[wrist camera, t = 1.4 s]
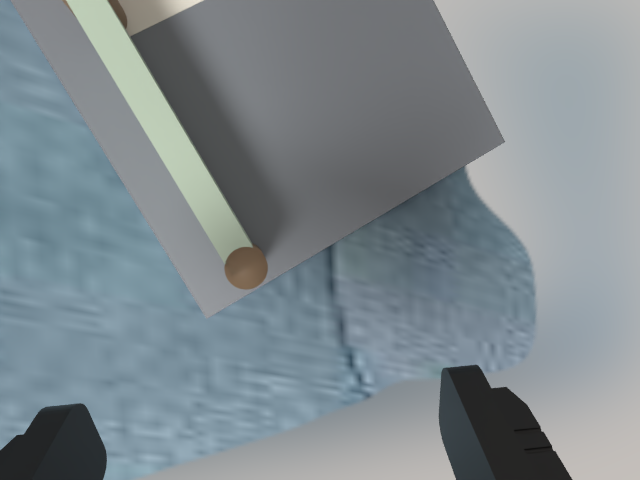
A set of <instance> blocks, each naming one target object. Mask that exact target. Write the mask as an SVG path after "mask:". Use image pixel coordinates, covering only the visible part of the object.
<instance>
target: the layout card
mask: <svg viewBox="0 0 640 480" xmlns="http://www.w3.org/2000/svg"><path fill="white" fill-rule="evenodd" d="M118 1H119V3H120V5H121V6H122V8H123V10H124V12H125V14H126V16H127V28H126V30H127V32H128V34H129V36H130V37H131V39H132V41H133V42H134V44H135V46H136V47H137V49H138V51H139V52H140V54H141V56H142V58H143V59H144V61H145V63H146V64H147V66H148V68H149V69H150V71H151V73H152V74H153V76H154V78H155V80H156V81H157V83H158V85H159V86H160V88H161V90H162V91H163V93H164V95H165V96H166V98H167V100H168V102H169V103H170V105H171V107H172V108H173V110H174V112H175V113H176V115H177V117H178V118H179V120H180V122H181V124H182V125H183V127H184V129H185V130H186V132H187V134H188V135H189V137H190V139H191V140H192V142H193V144H194V146H195V147H196V149H197V151H198V152H199V154H200V156H201V157H202V159H203V161H204V163H205V164H206V166H207V168H208V169H209V171H210V173H211V174H212V176H213V178H214V179H215V181H216V183H217V185H218V186H219V188H220V190H221V191H222V193H223V195H224V196H225V198H226V200H227V201H228V203H229V205H230V207H231V208H232V210H233V212H234V213H235V215H236V217H237V218H238V220H239V222H240V223H241V225H242V227H243V229H244V230H245V232H246V234H247V235H248V237H249V239H250V240H251V242H252V243H253V244H255V245H257V246H258V247H259V248H260V249H261V251H262V253H263V255H264V256H265V258H266V261H267V264H268V272H267V275H266V278H265V279H264V281H263V282H262V283H261V284H260V285H259V286H257V287H255V288H253V289H247V290H245V289H239V288H237V287H235V286H233V285H232V284H231V283H230V282H229V281H228V279H227V277H226V275H225V270H224V267H225V264H224V262H223V260H222V259H221V257H220V255H219V254H218V252H217V250H216V249H215V247H214V245H213V244H212V242H211V240H210V239H209V237H208V235H207V234H206V232H205V230H204V229H203V227H202V226H201V224H200V222H199V221H198V219H197V217H196V216H195V214H194V212H193V211H192V209H191V207H190V206H189V204H188V202H187V201H186V199H185V197H184V196H183V194H182V192H181V191H180V189H179V187H178V186H177V184H176V182H175V181H174V179H173V177H172V176H171V174H170V172H169V171H168V169H167V167H166V166H165V164H164V162H163V161H162V159H161V157H160V156H159V154H158V152H157V151H156V149H155V147H154V146H153V144H152V142H151V141H150V139H149V137H148V136H147V134H146V132H145V131H144V129H143V127H142V126H141V124H140V122H139V121H138V119H137V117H136V116H135V114H134V112H133V111H132V109H131V107H130V106H129V104H128V102H127V101H126V99H125V98H124V96H123V94H122V93H121V91H120V89H119V88H118V86H117V84H116V83H115V81H114V79H113V78H112V76H111V74H110V73H109V71H108V69H107V68H106V66H105V64H104V63H103V61H102V59H101V58H100V56H99V54H98V53H97V51H96V49H95V48H94V46H93V44H92V43H91V41H90V39H89V38H88V36H87V34H86V33H85V31H84V29H83V28H82V26H81V24H80V23H79V21H78V19H77V18H76V17H75V16H74V15H73V13H72V12H71V11H70V10H69V8H68V7H67V6H66V5H65V4H64V2H63V1H62V0H11V2H12V3H13V5H14V7H15V8H16V10H17V12H18V13H19V15H20V16H21V18H22V20H23V21H24V23H25V25H26V26H27V28H28V29H29V31H30V33H31V34H32V36H33V38H34V39H35V41H36V42H37V44H38V46H39V47H40V49H41V50H42V52H43V54H44V55H45V57H46V59H47V60H48V62H49V63H50V65H51V67H52V68H53V70H54V72H55V73H56V75H57V76H58V78H59V80H60V81H61V83H62V85H63V86H64V88H65V89H66V91H67V93H68V94H69V96H70V98H71V99H72V101H73V102H74V104H75V106H76V107H77V109H78V111H79V112H80V114H81V115H82V117H83V119H84V120H85V122H86V124H87V125H88V127H89V128H90V130H91V132H92V133H93V135H94V137H95V138H96V140H97V141H98V143H99V145H100V146H101V148H102V150H103V151H104V153H105V154H106V156H107V158H108V159H109V161H110V163H111V164H112V166H113V167H114V169H115V171H116V172H117V174H118V176H119V177H120V179H121V180H122V182H123V184H124V185H125V187H126V188H127V190H128V192H129V193H130V195H131V197H132V198H133V200H134V201H135V203H136V205H137V206H138V208H139V210H140V211H141V213H142V214H143V216H144V218H145V219H146V221H147V223H148V224H149V226H150V227H151V229H152V231H153V232H154V234H155V236H156V237H157V239H158V240H159V242H160V244H161V245H162V247H163V249H164V250H165V252H166V253H167V255H168V257H169V258H170V260H171V262H172V263H173V265H174V266H175V268H176V270H177V271H178V273H179V275H180V276H181V278H182V279H183V281H184V283H185V284H186V286H187V288H188V289H189V291H190V292H191V294H192V296H193V297H194V299H195V301H196V302H197V304H198V305H199V307H200V309H201V310H202V312H203V314H204V315H205V317H206V318H209V317H211V316H212V315H214V314H216V313H217V312H219V311H221V310H222V309H224V308H226V307H227V306H229V305H231V304H233V303H234V302H236V301H238V300H239V299H241V298H243V297H244V296H246V295H248V294H249V293H251V292H253V291H254V290H256V289H258V288H259V287H261V286H263V285H265V284H266V283H268V282H270V281H271V280H273V279H275V278H276V277H278V276H280V275H281V274H283V273H285V272H286V271H288V270H290V269H292V268H293V267H295V266H297V265H298V264H300V263H302V262H303V261H305V260H307V259H308V258H310V257H312V256H313V255H315V254H317V253H319V252H320V251H322V250H324V249H325V248H327V247H329V246H330V245H332V244H334V243H335V242H337V241H339V240H340V239H342V238H344V237H346V236H347V235H349V234H351V233H352V232H354V231H356V230H357V229H359V228H361V227H362V226H364V225H366V224H367V223H369V222H371V221H372V220H374V219H376V218H378V217H379V216H381V215H383V214H384V213H386V212H388V211H389V210H391V209H393V208H394V207H396V206H398V205H399V204H401V203H403V202H405V201H406V200H408V199H410V198H411V197H413V196H415V195H416V194H418V193H420V192H421V191H423V190H425V189H426V188H428V187H430V186H432V185H433V184H435V183H437V182H438V181H440V180H442V179H443V178H445V177H447V176H448V175H450V174H452V173H453V172H455V171H457V170H459V169H460V168H462V167H464V166H465V165H467V164H469V163H470V162H472V161H474V160H475V159H477V158H479V157H480V156H482V155H484V154H485V153H487V152H489V151H491V150H492V149H494V148H495V147H497V146H499V145H501V144H502V143H504V142H505V141H504V139H503V137H502V135H501V133H500V131H499V129H498V127H497V125H496V123H495V121H494V119H493V117H492V115H491V113H490V111H489V109H488V107H487V105H486V104H485V101H484V100H483V98H482V96H481V93H480V91H479V90H478V88H477V86H476V84H475V82H474V80H473V78H472V76H471V74H470V72H469V70H468V68H467V66H466V64H465V62H464V60H463V58H462V56H461V54H460V52H459V50H458V48H457V46H456V44H455V42H454V40H453V38H452V36H451V34H450V32H449V30H448V28H447V26H446V24H445V22H444V21H443V18H442V16H441V14H440V12H439V10H438V9H437V7H436V5H435V3H434V1H433V0H118Z"/></svg>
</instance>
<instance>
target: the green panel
mask: <svg viewBox="0 0 640 480" xmlns="http://www.w3.org/2000/svg"><path fill="white" fill-rule="evenodd" d="M62 1H63V2H64V4H65V5H66V6H67V7H68V8H69V10H70V11H71V12H72V13H73V15H74V16H75V17H76V18H77V19H78V21H79V23H80V24H81V26H82V28H83V29H84V31H85V33H86V34H87V36H88V38H89V39H90V41H91V43H92V44H93V46H94V48H95V49H96V51H97V53H98V54H99V56H100V58H101V59H102V61H103V63H104V64H105V66H106V68H107V69H108V71H109V73H110V74H111V76H112V78H113V79H114V81H115V83H116V84H117V86H118V88H119V89H120V91H121V93H122V94H123V96H124V98H125V99H126V101H127V102H128V104H129V106H130V107H131V109H132V111H133V112H134V114H135V116H136V117H137V119H138V121H139V122H140V124H141V126H142V127H143V129H144V131H145V132H146V134H147V136H148V137H149V139H150V141H151V142H152V144H153V146H154V147H155V149H156V151H157V152H158V154H159V156H160V157H161V159H162V161H163V162H164V164H165V166H166V167H167V169H168V171H169V172H170V174H171V176H172V177H173V179H174V181H175V182H176V184H177V186H178V187H179V189H180V191H181V192H182V194H183V196H184V197H185V199H186V201H187V202H188V204H189V206H190V207H191V209H192V211H193V212H194V214H195V216H196V217H197V219H198V221H199V222H200V224H201V226H202V227H203V229H204V230H205V232H206V234H207V235H208V237H209V239H210V240H211V242H212V244H213V245H214V247H215V249H216V250H217V252H218V254H219V255H220V257H221V259H222V260H223V262H224V264H225V267H224V270H225V275H226V277H227V279H228V281H229V282H230V283H231V284H232V285H233V286H235V287H237V288H239V289H245V290H247V289H253V288H255V287H257V286H259V285H260V284H261V283H262V282H263V281H264V279H265V278H266V275H267V272H268V264H267V261H266V258H265V256H264V255H263V253H262V251H261V249H260V248H259V247H258V246H257V245H255V244H253V243H252V242H251V240H250V239H249V237H248V235H247V234H246V232H245V230H244V229H243V227H242V225H241V223H240V222H239V220H238V218H237V217H236V215H235V213H234V212H233V210H232V208H231V207H230V205H229V203H228V201H227V200H226V198H225V196H224V195H223V193H222V191H221V190H220V188H219V186H218V185H217V183H216V181H215V179H214V178H213V176H212V174H211V173H210V171H209V169H208V168H207V166H206V164H205V163H204V161H203V159H202V157H201V156H200V154H199V152H198V151H197V149H196V147H195V146H194V144H193V142H192V140H191V139H190V137H189V135H188V134H187V132H186V130H185V129H184V127H183V125H182V124H181V122H180V120H179V118H178V117H177V115H176V113H175V112H174V110H173V108H172V107H171V105H170V103H169V102H168V100H167V98H166V96H165V95H164V93H163V91H162V90H161V88H160V86H159V85H158V83H157V81H156V80H155V78H154V76H153V74H152V73H151V71H150V69H149V68H148V66H147V64H146V63H145V61H144V59H143V58H142V56H141V54H140V52H139V51H138V49H137V47H136V46H135V44H134V42H133V41H132V39H131V37H130V36H129V34H128V32H127V30H126V28H127V16H126V14H125V12H124V10H123V8H122V6H121V5H120V3H119V1H118V0H62Z"/></svg>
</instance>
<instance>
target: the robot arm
mask: <svg viewBox="0 0 640 480" xmlns="http://www.w3.org/2000/svg"><path fill="white" fill-rule="evenodd" d="M439 425H440V431H441V436H442V440H443V443H444V446H445V449H446V452H447V455H448V458H449V460H450V463H451V466H452V469H453V472H454V475H455V477H456V480H572V479H571V477H570V475H569V473H568V472H567V470H566V468H565V467H564V465H563V463H562V462H561V460H560V458H559V457H558V455H557V454H556V452H555V451H553V449H552V445H551V444H550V442H549V440H548V439H547V437H546V435H545V434H544V432H542V431H541V428H540V425H539V424H538V422H537V420H536V419H535V417H534V416H533V414H532V412H531V411H530V409H529V407H528V406H527V405H526V404H525V403H524V402H523V401H522V400H521V399H520V398H518V397H517V396H516V395H515V394H514V393H513V392H511V391H510V390H509V389H508V388H507V387H501V388H492V389H491V387H490V385H489V383H488V381H487V379H486V377H485V376H484V374H483V372H482V370H481V369H480V367H479V366H478V365H470V366H460V367H450V368H443V370H442V374H441V389H440V406H439ZM106 463H107V456H106V450H105V447H104V444H103V442H102V440H101V438H100V436H99V433H98V431H97V429H96V427H95V425H94V422H93V420H92V418H91V416H90V414H89V411H88V409H87V407H86V406H85V405H83V404H81V403H80V404H70V405H60V406H50V407H45V408H43V409H41V410H40V411H39V412H38V414H37V415H36V417H35V418H34V420H33V421H32V423H31V424H30V426H29V428H28V429H27V431H26V432H25V434H24V435H17V436H16V437H14V438H13V439H12V440H11V441H10V442H9V443H8V444H7V445H6V446H5V447H4V448H3V449H1V450H0V480H103V478H104V475H105V470H106Z"/></svg>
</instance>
